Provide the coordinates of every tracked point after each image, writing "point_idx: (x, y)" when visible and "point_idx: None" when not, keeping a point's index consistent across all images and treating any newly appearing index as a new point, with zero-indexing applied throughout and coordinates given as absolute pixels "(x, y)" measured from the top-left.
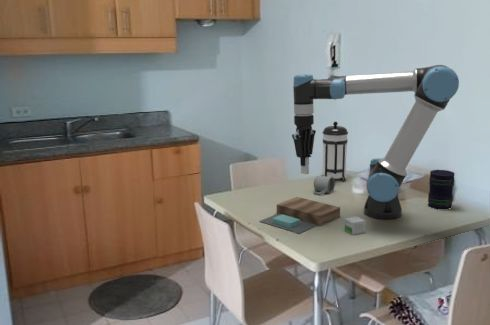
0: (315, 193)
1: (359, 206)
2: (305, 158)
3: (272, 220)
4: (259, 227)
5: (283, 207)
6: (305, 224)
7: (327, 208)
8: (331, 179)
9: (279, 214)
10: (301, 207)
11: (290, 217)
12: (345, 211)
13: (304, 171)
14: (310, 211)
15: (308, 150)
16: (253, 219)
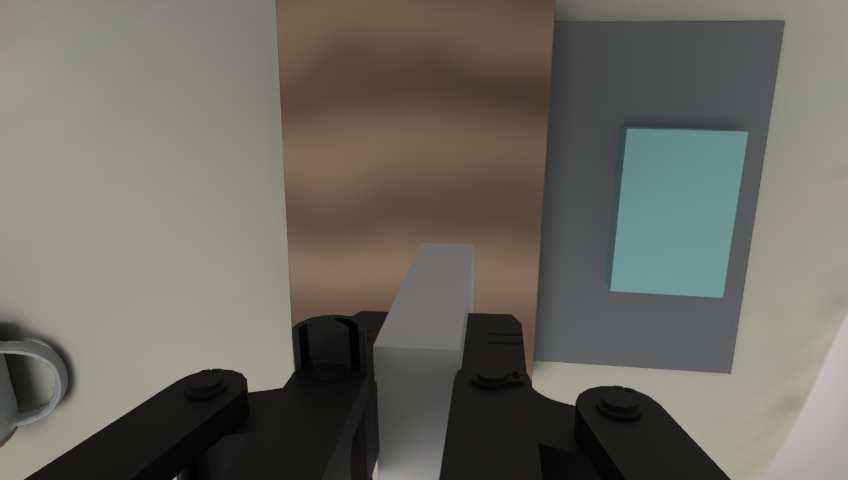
0: (66, 387)
1: (44, 22)
2: (459, 366)
3: (669, 313)
4: (823, 310)
5: (533, 341)
6: (601, 92)
7: (363, 57)
8: None
9: (542, 343)
10: (472, 227)
11: (634, 207)
12: (190, 39)
13: (472, 289)
14: (507, 120)
15: (306, 452)
16: (712, 423)
